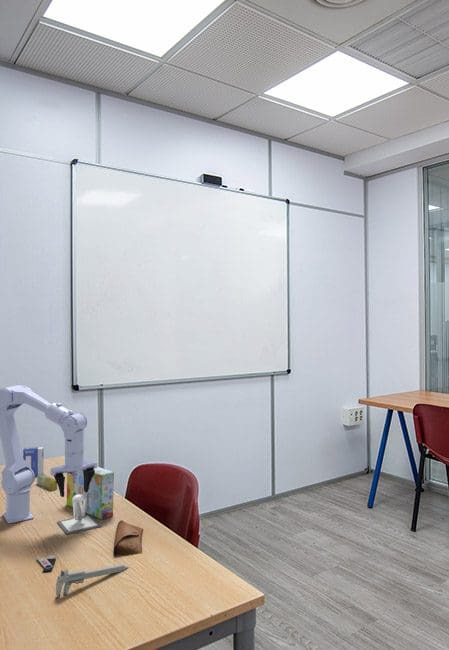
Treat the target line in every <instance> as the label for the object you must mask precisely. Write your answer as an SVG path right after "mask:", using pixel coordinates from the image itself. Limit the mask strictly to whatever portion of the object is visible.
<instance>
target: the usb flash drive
mask: <svg viewBox="0 0 449 650" xmlns="http://www.w3.org/2000/svg"><path fill="white" fill-rule="evenodd" d="M56 559H57V555H48V558H46V557H45V556H41V557H37V558H36V561H38V562H39V563H40V564H41V565H42V567H43V570H42V573H52V572H53V570H54V566H55V563H56V561H57V560H56Z"/></svg>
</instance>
